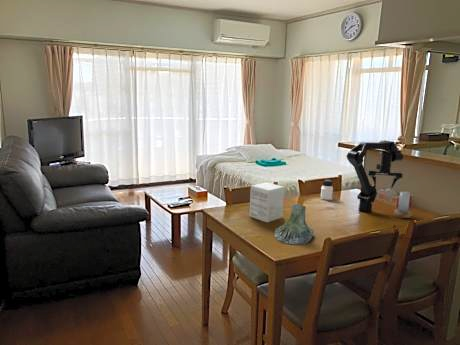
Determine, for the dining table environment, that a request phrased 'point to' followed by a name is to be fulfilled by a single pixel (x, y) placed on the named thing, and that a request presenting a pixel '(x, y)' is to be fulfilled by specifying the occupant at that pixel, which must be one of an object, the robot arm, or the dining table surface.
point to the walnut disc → (402, 214)
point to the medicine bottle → (327, 190)
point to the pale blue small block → (403, 201)
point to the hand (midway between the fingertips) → (383, 187)
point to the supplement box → (266, 201)
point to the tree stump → (295, 228)
